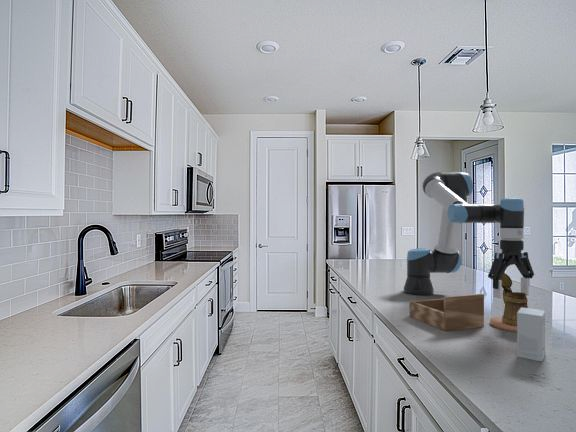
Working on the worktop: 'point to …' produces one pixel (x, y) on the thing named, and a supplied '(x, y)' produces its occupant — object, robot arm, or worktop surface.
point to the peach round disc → (502, 324)
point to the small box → (531, 334)
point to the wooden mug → (511, 301)
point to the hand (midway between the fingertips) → (511, 296)
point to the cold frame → (450, 312)
